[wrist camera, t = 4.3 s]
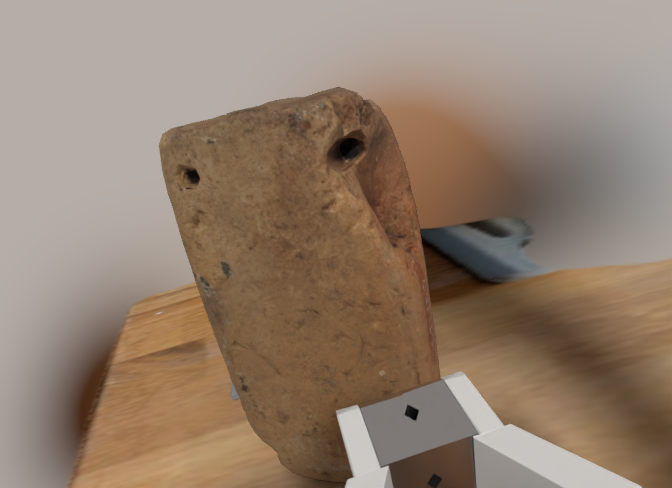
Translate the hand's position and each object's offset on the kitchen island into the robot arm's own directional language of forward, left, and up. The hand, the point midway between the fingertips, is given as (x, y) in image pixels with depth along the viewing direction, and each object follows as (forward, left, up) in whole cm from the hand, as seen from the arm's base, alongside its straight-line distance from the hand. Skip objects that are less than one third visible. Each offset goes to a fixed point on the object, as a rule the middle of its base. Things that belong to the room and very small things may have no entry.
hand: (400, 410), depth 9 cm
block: (0, -12, -14) cm, 18 cm away
